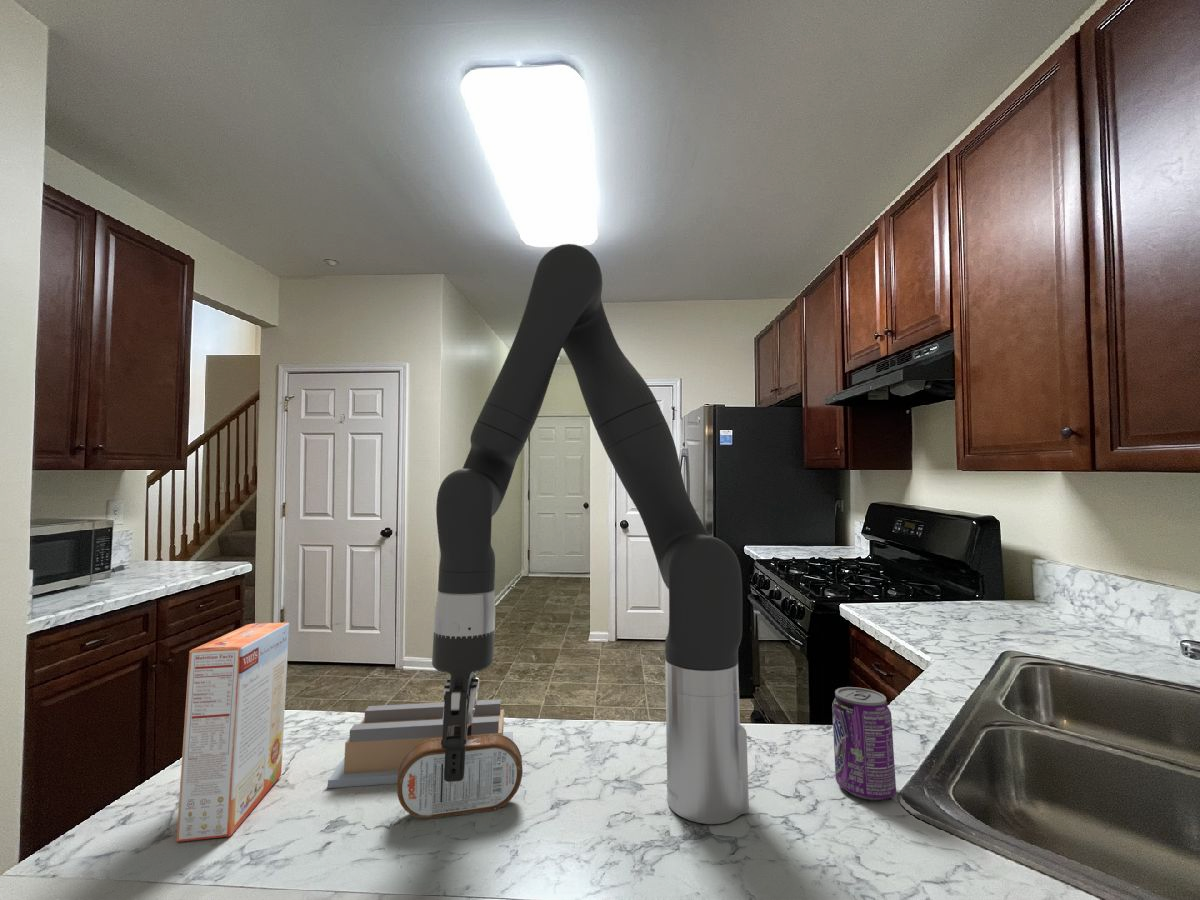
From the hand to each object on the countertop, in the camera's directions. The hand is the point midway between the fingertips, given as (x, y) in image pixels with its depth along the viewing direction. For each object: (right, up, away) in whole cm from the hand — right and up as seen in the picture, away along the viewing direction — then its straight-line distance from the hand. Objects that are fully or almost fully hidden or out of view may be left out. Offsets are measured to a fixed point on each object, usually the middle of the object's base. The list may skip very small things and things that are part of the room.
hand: (458, 762), depth 65 cm
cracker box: (-28, -6, 0) cm, 29 cm away
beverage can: (+52, -6, +4) cm, 53 cm away
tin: (0, -6, -1) cm, 6 cm away
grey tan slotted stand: (-8, -7, +12) cm, 16 cm away
